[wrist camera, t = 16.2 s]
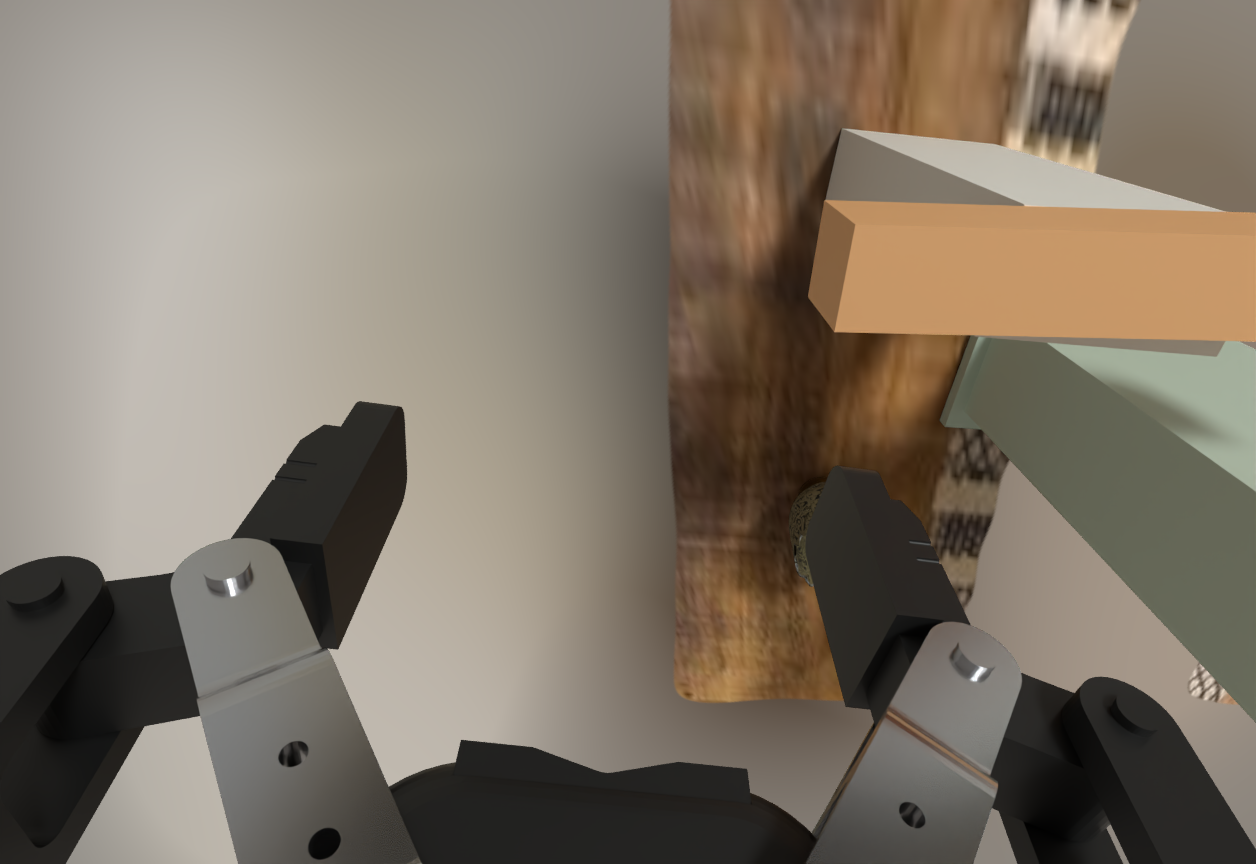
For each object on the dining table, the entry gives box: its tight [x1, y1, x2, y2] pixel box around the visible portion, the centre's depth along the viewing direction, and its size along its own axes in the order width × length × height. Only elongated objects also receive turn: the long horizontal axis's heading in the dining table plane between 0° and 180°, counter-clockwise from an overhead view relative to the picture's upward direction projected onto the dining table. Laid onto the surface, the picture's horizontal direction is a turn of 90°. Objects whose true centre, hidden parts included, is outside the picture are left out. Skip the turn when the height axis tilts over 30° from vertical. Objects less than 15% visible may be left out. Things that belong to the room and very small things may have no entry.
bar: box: [808, 200, 1256, 342], centre depth 24 cm, size 4×26×4 cm, turn 88°
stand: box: [939, 335, 1256, 722], centre depth 38 cm, size 11×18×32 cm, turn 85°
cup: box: [789, 477, 827, 587], centre depth 54 cm, size 8×7×8 cm
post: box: [825, 128, 1226, 357], centre depth 35 cm, size 5×10×22 cm, turn 85°
